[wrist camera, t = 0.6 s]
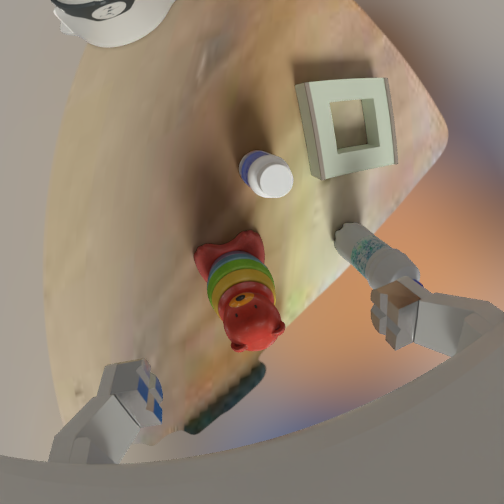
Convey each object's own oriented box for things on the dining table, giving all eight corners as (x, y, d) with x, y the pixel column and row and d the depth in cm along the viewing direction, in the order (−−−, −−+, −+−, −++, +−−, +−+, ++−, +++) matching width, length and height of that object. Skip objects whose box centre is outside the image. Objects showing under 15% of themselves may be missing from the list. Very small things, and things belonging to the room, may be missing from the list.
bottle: (351, 258, 51) (418, 324, 34) (322, 247, 49) (388, 317, 31) (368, 225, 49) (445, 281, 32) (340, 212, 47) (418, 268, 29)
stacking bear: (257, 225, 45) (297, 287, 29) (271, 279, 50) (309, 352, 34) (189, 248, 44) (194, 321, 29) (210, 300, 49) (225, 380, 33)
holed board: (294, 85, 37) (304, 82, 33) (373, 79, 38) (387, 77, 35) (311, 175, 43) (321, 180, 40) (384, 159, 44) (398, 163, 41)
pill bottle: (235, 183, 41) (248, 201, 33) (242, 146, 39) (257, 154, 31) (271, 188, 43) (293, 207, 34) (278, 153, 41) (303, 163, 32)
